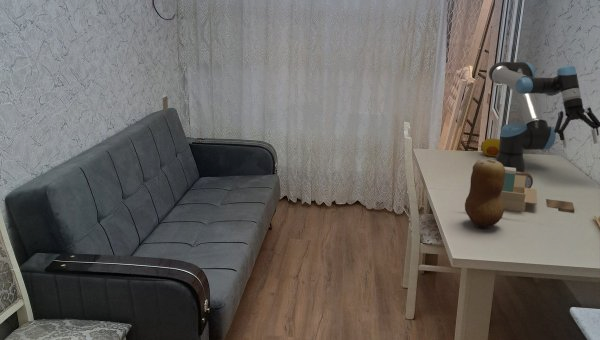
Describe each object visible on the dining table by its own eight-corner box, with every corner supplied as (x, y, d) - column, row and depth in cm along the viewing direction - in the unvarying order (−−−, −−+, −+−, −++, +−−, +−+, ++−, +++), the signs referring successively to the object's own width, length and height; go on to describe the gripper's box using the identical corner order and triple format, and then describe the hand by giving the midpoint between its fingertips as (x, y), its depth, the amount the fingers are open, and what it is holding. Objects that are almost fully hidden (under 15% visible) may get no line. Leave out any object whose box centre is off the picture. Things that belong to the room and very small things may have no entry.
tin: (531, 190, 234) (534, 172, 231) (531, 192, 231) (534, 174, 229) (496, 186, 238) (498, 168, 236) (496, 188, 236) (498, 170, 233)
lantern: (525, 139, 285) (469, 133, 299) (522, 146, 278) (465, 140, 292) (523, 155, 290) (468, 148, 304) (520, 163, 282) (464, 155, 296)
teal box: (498, 202, 214) (502, 169, 210) (498, 198, 219) (502, 166, 215) (511, 203, 212) (515, 171, 208) (511, 200, 217) (516, 168, 213)
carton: (472, 209, 209) (475, 187, 206) (478, 190, 232) (480, 171, 229) (535, 218, 200) (538, 195, 197) (534, 198, 223) (537, 177, 221)
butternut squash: (508, 230, 187) (517, 164, 180) (476, 234, 184) (484, 166, 177) (485, 217, 200) (492, 154, 193) (454, 220, 196) (461, 156, 189)
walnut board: (546, 209, 210) (546, 206, 210) (545, 201, 219) (546, 198, 218) (574, 212, 206) (574, 210, 206) (572, 205, 215) (572, 202, 215)
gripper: (548, 101, 232) (556, 147, 229) (604, 93, 231) (613, 140, 229) (541, 105, 240) (549, 150, 237) (595, 98, 239) (604, 143, 236)
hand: (581, 145), depth 233 cm, fingers open, 13 cm apart
